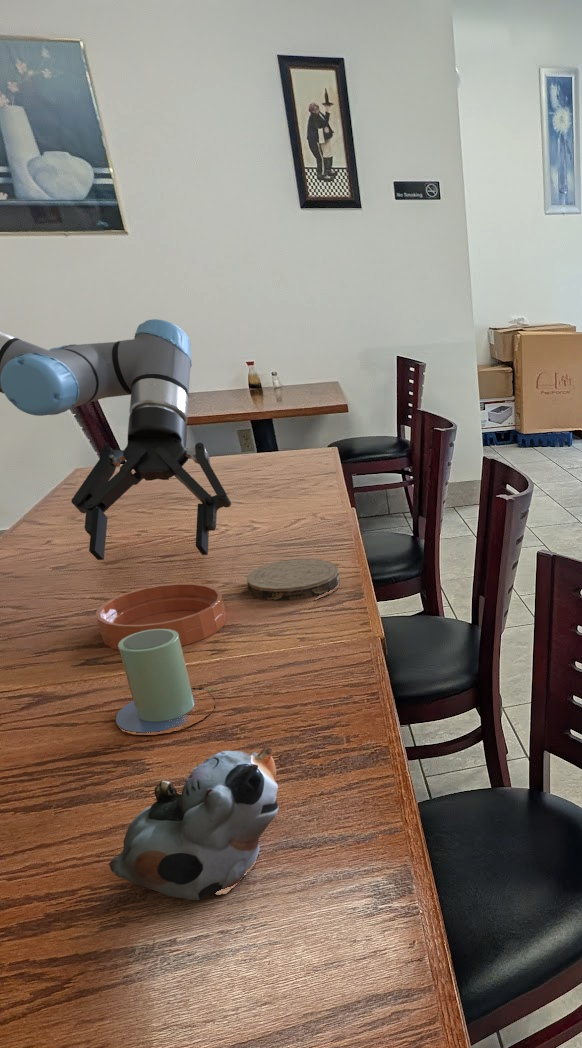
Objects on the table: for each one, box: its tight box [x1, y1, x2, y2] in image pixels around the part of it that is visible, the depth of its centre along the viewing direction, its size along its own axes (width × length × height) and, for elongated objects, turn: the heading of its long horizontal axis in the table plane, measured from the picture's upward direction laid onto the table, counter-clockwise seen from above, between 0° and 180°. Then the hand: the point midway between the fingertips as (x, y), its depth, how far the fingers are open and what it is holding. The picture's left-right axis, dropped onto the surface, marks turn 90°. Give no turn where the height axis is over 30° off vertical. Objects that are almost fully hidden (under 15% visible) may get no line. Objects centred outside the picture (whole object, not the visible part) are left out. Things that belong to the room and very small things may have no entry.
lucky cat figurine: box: [108, 745, 279, 901], centre depth 78 cm, size 15×12×14 cm
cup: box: [118, 629, 195, 722], centre depth 106 cm, size 7×7×10 cm
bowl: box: [94, 582, 228, 651], centre depth 131 cm, size 18×18×5 cm
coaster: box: [115, 690, 199, 733], centre depth 108 cm, size 12×12×1 cm
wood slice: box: [246, 558, 341, 602], centre depth 149 cm, size 16×16×3 cm
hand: (149, 553), depth 111 cm, fingers open, 13 cm apart
